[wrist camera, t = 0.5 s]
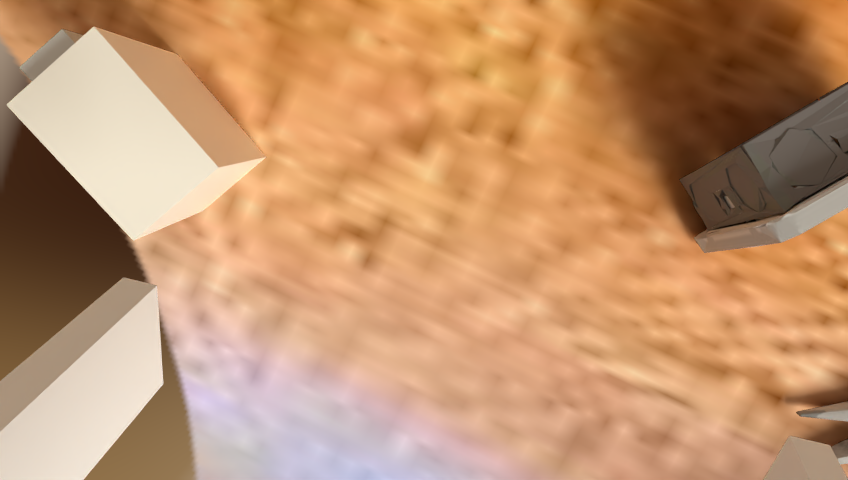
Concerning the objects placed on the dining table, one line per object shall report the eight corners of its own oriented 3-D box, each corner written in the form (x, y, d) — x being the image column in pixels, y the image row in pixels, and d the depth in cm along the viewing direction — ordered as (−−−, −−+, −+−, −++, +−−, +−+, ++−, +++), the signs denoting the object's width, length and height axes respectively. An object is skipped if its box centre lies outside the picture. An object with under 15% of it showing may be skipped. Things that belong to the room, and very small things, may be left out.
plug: (202, 210, 30) (133, 240, 22) (100, 97, 29) (-12, 85, 21) (266, 157, 30) (218, 167, 22) (165, 39, 28) (76, 6, 21)
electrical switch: (696, 253, 31) (809, 284, 22) (645, 164, 31) (739, 157, 22) (864, 156, 31) (1052, 147, 22) (815, 64, 30) (986, 13, 21)
